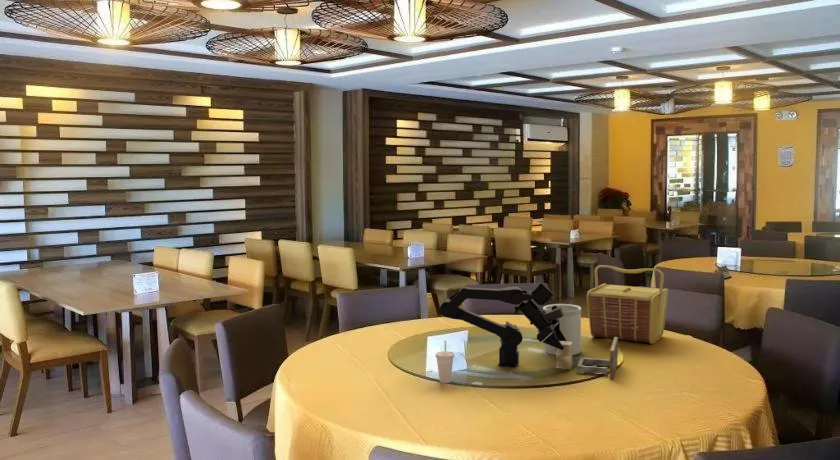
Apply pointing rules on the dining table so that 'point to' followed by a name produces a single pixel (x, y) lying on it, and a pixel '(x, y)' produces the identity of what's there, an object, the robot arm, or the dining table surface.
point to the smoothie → (445, 365)
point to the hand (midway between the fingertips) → (564, 346)
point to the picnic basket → (627, 309)
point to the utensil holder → (568, 326)
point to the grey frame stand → (601, 362)
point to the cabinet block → (564, 355)
